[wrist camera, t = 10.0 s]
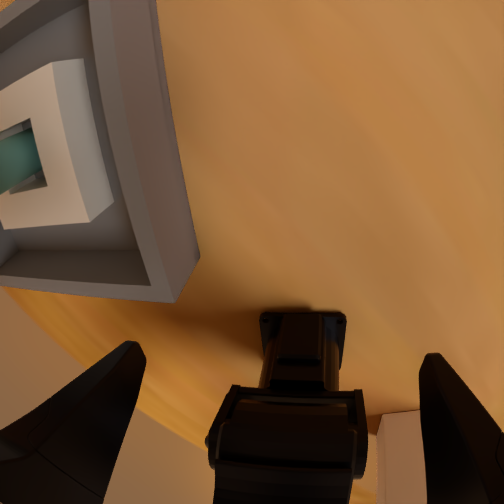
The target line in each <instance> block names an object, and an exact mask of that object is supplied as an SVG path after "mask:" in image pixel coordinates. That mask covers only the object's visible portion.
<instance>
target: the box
mask: <svg viewBox="0 0 504 504" xmlns="http://www.w3.org/2000/svg"><path fill="white" fill-rule="evenodd" d="M31 127H32V129H33V133H34V138H35V142H36V146H37V150H38V154H39V157H40V161H41V165H42V168H43V170H41V171H39V172H37V173H36V174H34V175H32V176H30V177H29V178H27V179H25V180H24V181H22V182H20V183H19V184H17V185H15V186H14V187H12V188H11V189H9V190H7V191H6V192H4V193H3V194H1V195H0V286H7V287H14V288H21V289H29V290H37V291H45V292H54V293H62V294H71V295H81V296H91V297H101V298H112V299H124V300H136V301H149V302H163V303H175V302H176V301H177V299H178V297H179V295H180V293H181V291H182V289H183V288H184V286H185V284H186V282H187V280H188V278H189V277H190V275H191V273H192V271H193V269H194V268H195V266H196V264H197V262H198V260H199V259H200V253H199V249H198V244H197V240H196V235H195V230H194V226H193V221H192V216H191V212H190V207H189V202H188V197H187V192H186V187H185V182H184V177H183V172H182V167H181V161H180V156H179V151H178V145H177V140H176V134H175V128H174V123H173V117H172V111H171V105H170V99H169V93H168V86H167V80H166V73H165V67H164V60H163V53H162V46H161V38H160V31H159V23H158V15H157V6H156V0H15V1H14V2H13V3H12V4H10V5H9V6H8V7H6V8H5V9H4V10H3V11H1V12H0V140H3V139H5V138H7V137H9V136H12V135H14V134H16V133H19V132H21V131H24V130H26V129H28V128H31Z"/></svg>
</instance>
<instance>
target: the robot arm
mask: <svg viewBox="0 0 504 504" xmlns="http://www.w3.org/2000/svg"><path fill="white" fill-rule="evenodd" d="M264 318H267V319H264ZM339 319H341V321H339ZM259 322H260V330H261V337H262V344H263V352H264V361H263V366H262V371H261V376H260V381H259V386H258V388H252V387H241V386H240V385H232V386H231V388H230V390H229V392H228V393H227V394H226V396H225V398H224V401H223V403H222V405H221V407H220V409H219V411H218V413H217V415H216V417H215V419H214V421H213V424H212V426H211V428H210V430H209V434H208V435H207V436H206V438H205V445H206V446H207V448H208V460H209V465H210V467H211V468H212V469H214V470H215V490H214V498H213V504H349V500H350V494H351V488H352V482H353V479H361V478H362V477H363V475H364V471H365V467H366V461H367V451H368V430H367V421H366V414H365V406H364V399H363V392H362V389H354V391H339V370H340V368H341V363H342V356H343V348H344V340H345V332H346V323H347V320H346V316H345V315H344V314H342V313H278V312H263V313H262V314H261V315H260V319H259ZM145 367H146V357H145V355H144V353H143V351H142V349H141V346H140V344H139V343H138V342H136V341H125V342H123V343H122V344H121V345H119V346H118V347H117V348H115V349H114V350H113V351H111V352H110V353H109V354H107V355H106V356H105V357H103V358H102V359H101V360H99V361H98V362H97V363H95V364H94V365H93V366H91V367H90V368H89V369H87V370H86V371H85V372H84V373H82V374H81V375H79V376H78V377H77V378H75V379H74V380H73V381H71V382H70V383H69V384H67V385H66V386H65V387H63V388H62V389H61V390H60V391H58V392H57V393H56V394H54V395H53V396H52V397H51V398H49V399H47V400H46V401H45V402H44V403H42V404H41V405H39V406H38V407H36V408H35V409H34V410H32V411H31V412H29V413H28V414H26V415H24V416H23V417H21V418H20V419H18V420H16V421H15V422H13V423H11V424H10V425H8V426H6V427H5V428H3V429H1V430H0V504H103V501H104V497H105V494H106V491H107V487H108V485H109V481H110V478H111V475H112V472H113V469H114V466H115V463H116V460H117V457H118V454H119V451H120V448H121V445H122V442H123V439H124V436H125V433H126V430H127V428H128V425H129V422H130V419H131V417H132V414H133V411H134V408H135V405H136V402H137V399H138V395H139V391H140V387H141V383H142V379H143V375H144V371H145ZM419 394H420V423H421V432H422V441H423V451H424V462H425V475H426V492H427V504H504V433H503V432H502V430H501V429H500V427H499V426H498V425H497V423H496V422H495V421H494V419H493V418H492V417H491V415H490V414H489V413H488V412H487V410H486V409H485V408H484V406H483V405H482V404H481V403H480V401H479V400H478V399H477V398H476V396H475V395H474V394H473V393H472V391H471V390H470V389H469V388H468V386H467V385H466V384H465V383H464V381H463V380H462V379H461V378H460V377H459V375H458V374H457V373H456V372H455V370H454V369H453V368H452V367H451V366H450V364H449V363H448V362H447V361H446V360H445V359H444V357H443V356H442V355H441V354H440V353H428V354H426V356H425V358H424V360H423V363H422V365H421V368H420V371H419Z"/></svg>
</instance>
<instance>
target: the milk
mask: <svg viewBox="0 0 504 504" xmlns="http://www.w3.org/2000/svg"><path fill="white" fill-rule="evenodd" d="M376 442H377V499H376V504H427V492H426V475H425V462H424V451H423V441H422V432H421V423H420V410H416V411H408V412H400V413H390V414H383V415H382V418H381V422H380V425H379V429H378V432H377V436H376Z"/></svg>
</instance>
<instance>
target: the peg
mask: <svg viewBox="0 0 504 504" xmlns="http://www.w3.org/2000/svg"><path fill="white" fill-rule="evenodd" d="M41 170H43V168H42V165H41V161H40V157H39V154H38V150H37V146H36V142H35V138H34V133H33V129H32V127H31V128H28V129H26V130H24V131H21V132H19V133H16V134H14V135H12V136H9V137H7V138H5V139H3V140H0V195H1V194H3V193H4V192H6V191H7V190H9V189H11V188H12V187H14V186H15V185H17V184H19V183H20V182H22V181H24V180H25V179H27V178H29V177H30V176H32V175H34V174H36V173H37V172H39V171H41Z"/></svg>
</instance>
